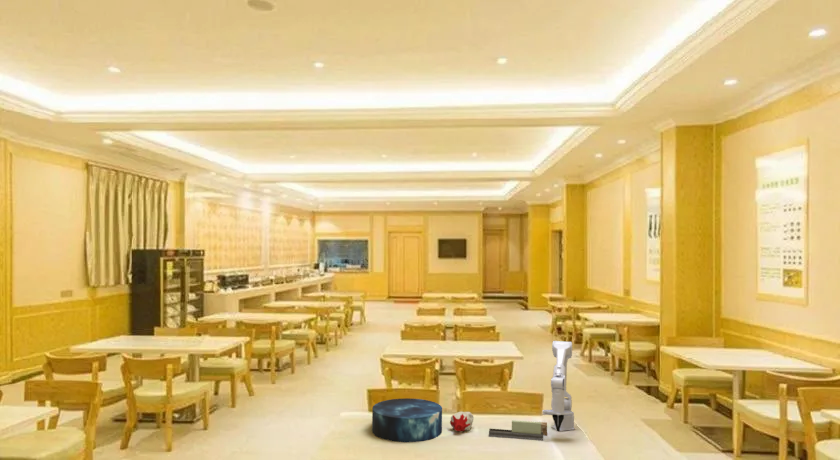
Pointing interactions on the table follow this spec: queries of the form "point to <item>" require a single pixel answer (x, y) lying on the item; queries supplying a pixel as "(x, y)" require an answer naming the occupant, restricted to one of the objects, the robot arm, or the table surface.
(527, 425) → the pale green long bar
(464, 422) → the rock with red coral
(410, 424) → the cylinder
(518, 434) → the track
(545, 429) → the block
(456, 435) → the table surface
